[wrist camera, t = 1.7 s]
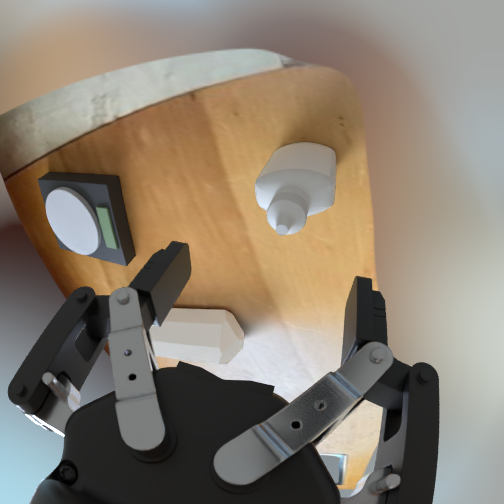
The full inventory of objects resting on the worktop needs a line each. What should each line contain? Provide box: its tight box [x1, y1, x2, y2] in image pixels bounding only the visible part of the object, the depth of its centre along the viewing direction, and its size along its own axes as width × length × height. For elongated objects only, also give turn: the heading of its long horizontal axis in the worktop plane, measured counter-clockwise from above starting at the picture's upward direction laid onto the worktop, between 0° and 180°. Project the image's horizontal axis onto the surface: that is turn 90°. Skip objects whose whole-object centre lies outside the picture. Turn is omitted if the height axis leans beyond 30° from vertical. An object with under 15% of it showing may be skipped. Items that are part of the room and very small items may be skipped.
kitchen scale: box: [38, 172, 136, 266], centre depth 36 cm, size 12×14×3 cm
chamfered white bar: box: [149, 308, 244, 364], centre depth 44 cm, size 7×7×24 cm
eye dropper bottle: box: [255, 142, 336, 235], centre depth 22 cm, size 4×6×12 cm
